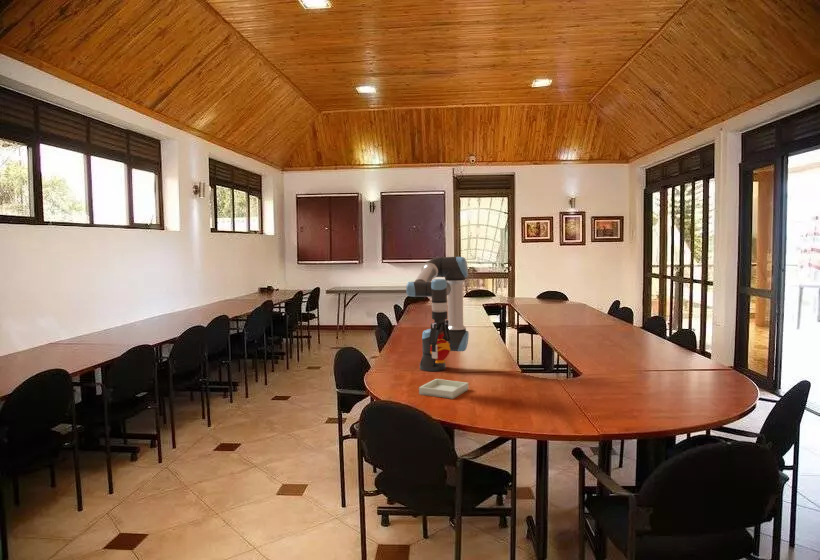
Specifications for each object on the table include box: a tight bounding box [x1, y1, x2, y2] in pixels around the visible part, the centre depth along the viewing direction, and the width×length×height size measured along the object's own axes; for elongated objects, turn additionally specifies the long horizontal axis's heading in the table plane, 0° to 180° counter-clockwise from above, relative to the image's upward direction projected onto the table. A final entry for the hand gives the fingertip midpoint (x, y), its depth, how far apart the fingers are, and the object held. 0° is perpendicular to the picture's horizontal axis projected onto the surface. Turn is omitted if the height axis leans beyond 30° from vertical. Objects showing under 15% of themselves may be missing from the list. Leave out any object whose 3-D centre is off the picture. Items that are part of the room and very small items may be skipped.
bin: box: [418, 378, 469, 400], centre depth 263 cm, size 18×18×4 cm
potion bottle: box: [430, 331, 451, 364], centre depth 262 cm, size 10×10×15 cm
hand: (440, 356), depth 262 cm, fingers closed on potion bottle, 10 cm apart
